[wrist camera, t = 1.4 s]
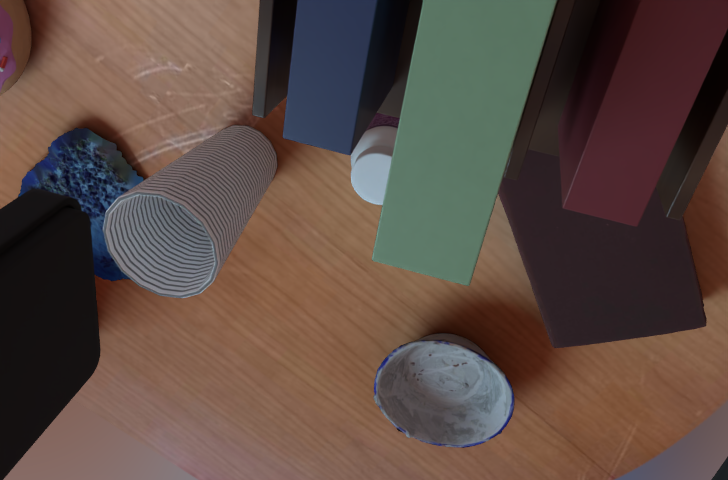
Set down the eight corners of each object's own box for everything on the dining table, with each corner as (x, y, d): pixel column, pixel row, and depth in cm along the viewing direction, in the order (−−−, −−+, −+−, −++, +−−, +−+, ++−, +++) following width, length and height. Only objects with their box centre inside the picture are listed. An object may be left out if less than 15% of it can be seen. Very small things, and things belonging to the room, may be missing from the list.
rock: (85, 110, 58) (71, 118, 57) (219, 246, 63) (211, 257, 61) (9, 192, 66) (-4, 201, 64) (135, 309, 70) (125, 320, 69)
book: (550, 329, 59) (551, 353, 57) (485, 138, 51) (482, 155, 49) (702, 303, 55) (711, 327, 52) (655, 87, 47) (662, 103, 44)
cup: (198, 185, 60) (104, 280, 47) (202, 98, 55) (98, 176, 42) (286, 210, 59) (215, 313, 46) (297, 123, 55) (222, 211, 42)
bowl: (495, 428, 67) (492, 465, 63) (374, 392, 68) (363, 427, 64) (533, 333, 60) (532, 369, 56) (397, 296, 61) (387, 328, 57)
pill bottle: (357, 126, 53) (324, 177, 45) (400, 81, 51) (374, 126, 43) (404, 171, 55) (381, 228, 47) (450, 129, 52) (433, 182, 44)
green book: (484, -109, 27) (435, -67, 15) (557, -94, 27) (570, -40, 14) (437, 98, 32) (370, 261, 20) (498, 112, 32) (469, 287, 19)
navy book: (369, -130, 28) (310, -121, 21) (433, -116, 28) (395, -102, 20) (338, 74, 33) (282, 138, 26) (392, 87, 32) (350, 156, 25)
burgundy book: (627, -78, 27) (658, -49, 20) (697, -64, 26) (754, -29, 19) (557, 126, 32) (561, 208, 24) (615, 140, 31) (637, 227, 24)
